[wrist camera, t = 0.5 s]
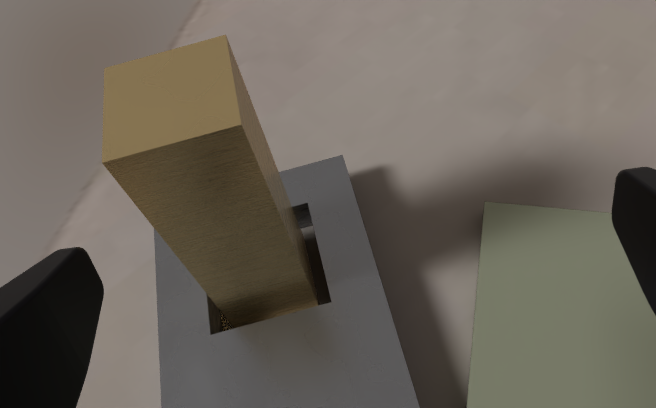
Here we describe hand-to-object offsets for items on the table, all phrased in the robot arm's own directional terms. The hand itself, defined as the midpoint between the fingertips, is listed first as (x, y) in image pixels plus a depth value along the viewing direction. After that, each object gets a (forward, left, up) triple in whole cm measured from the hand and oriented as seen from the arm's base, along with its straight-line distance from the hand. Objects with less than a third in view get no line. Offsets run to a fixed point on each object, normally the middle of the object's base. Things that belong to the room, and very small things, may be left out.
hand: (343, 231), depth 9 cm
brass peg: (+6, +6, -16) cm, 18 cm away
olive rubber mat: (+5, -8, -16) cm, 19 cm away
